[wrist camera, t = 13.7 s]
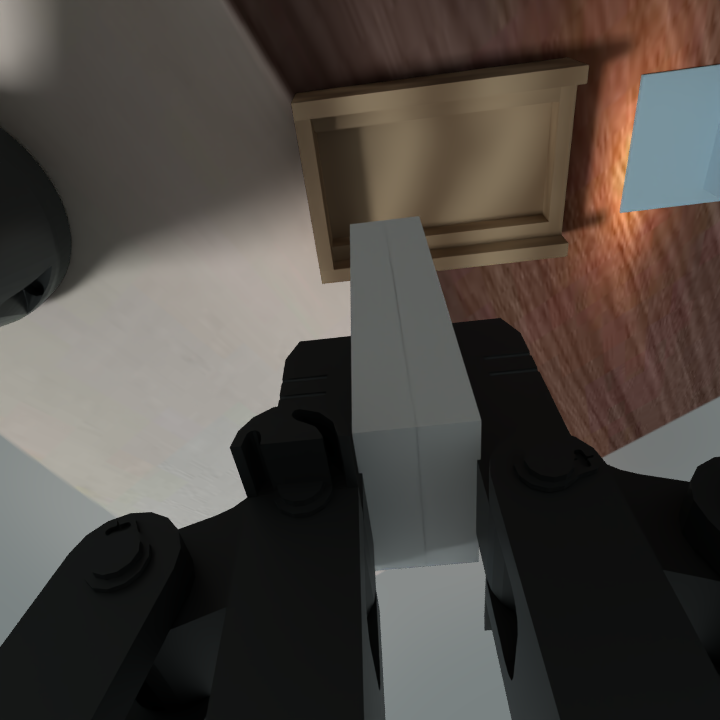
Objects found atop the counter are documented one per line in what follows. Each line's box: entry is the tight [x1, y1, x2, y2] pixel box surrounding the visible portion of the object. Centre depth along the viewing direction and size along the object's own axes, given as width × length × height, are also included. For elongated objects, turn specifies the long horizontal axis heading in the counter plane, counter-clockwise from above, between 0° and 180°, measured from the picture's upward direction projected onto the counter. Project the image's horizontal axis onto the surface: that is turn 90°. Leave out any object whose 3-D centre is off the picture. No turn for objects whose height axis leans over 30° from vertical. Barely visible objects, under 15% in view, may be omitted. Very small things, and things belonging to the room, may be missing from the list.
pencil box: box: [291, 57, 589, 284], centre depth 33 cm, size 16×11×3 cm
